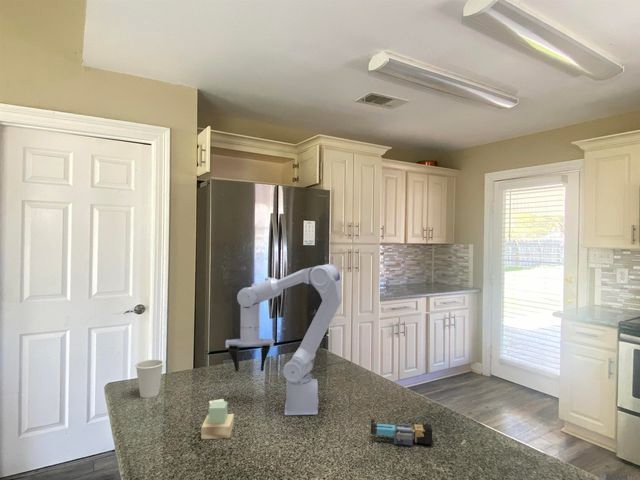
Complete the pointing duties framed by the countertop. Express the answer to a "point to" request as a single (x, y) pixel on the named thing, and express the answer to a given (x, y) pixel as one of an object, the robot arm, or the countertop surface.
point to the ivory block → (216, 401)
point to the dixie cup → (149, 377)
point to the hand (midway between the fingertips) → (249, 370)
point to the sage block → (218, 412)
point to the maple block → (217, 428)
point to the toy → (404, 432)
